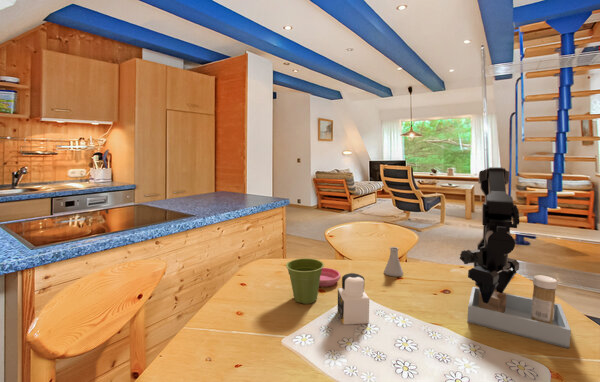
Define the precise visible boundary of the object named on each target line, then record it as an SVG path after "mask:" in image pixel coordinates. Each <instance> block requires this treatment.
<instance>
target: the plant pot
mask: <svg viewBox="0 0 600 382" xmlns="http://www.w3.org/2000/svg"><path fill="white" fill-rule="evenodd" d="M285 267H286V269H287V271H288V275H289V277H290V283H291V284H290V285H291V289H292V293H293V298H294V299H293V300H294V301H295V302H297V303H300V304H301V303H302V304H304V305H308V304H312V303H315V302H316V300H317V299H318V294H319V287H320V286H319V282H320V275H321V272H322V268H325V264H324V262H323V261H322V260H320V259H316V258H305V257H304V258H295V259H292V260H290V261H288V262H286V264H285Z"/></svg>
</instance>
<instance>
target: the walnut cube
mask: <svg viewBox="0 0 600 382" xmlns="http://www.w3.org/2000/svg"><path fill="white" fill-rule="evenodd" d="M503 293H504V292H503ZM503 293H500V292H497V291H496V290H495V291H494V293H493V295H492V297H491V299H490V300H489V302H488V303H484V302H483V300H482V296H481V293H479V304H478V307H480V308H484V309H488V310H493V311H497V312H501V313H504V312H505V308H506V294H503Z"/></svg>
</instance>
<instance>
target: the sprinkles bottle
mask: <svg viewBox="0 0 600 382" xmlns="http://www.w3.org/2000/svg"><path fill="white" fill-rule="evenodd" d="M532 284H533V291H532V297H531V299H532V310H531V320H535V321H540V322H544V323H548V324H552V325H553V319H554V303H556V301H555V299H556V290H557V287H558V280H557V279H555V278H554V277H551V276H547V275H540V274H539V275H538V274H537V275H534V276H533V279H532Z"/></svg>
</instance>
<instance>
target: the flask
mask: <svg viewBox="0 0 600 382" xmlns="http://www.w3.org/2000/svg"><path fill="white" fill-rule="evenodd" d="M389 250H390V254H389V257H388V260H387V264H386V266H385V268H384V270H383V273H384V274H385V275H386V276H390V277H395V278H396V277H402V276H403V275H404V271H403V268H402V265H401V263H400V262H401V261H400V260H399V259H400V258H399V253H398V252H399V247H397V246H391V247H389Z"/></svg>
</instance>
